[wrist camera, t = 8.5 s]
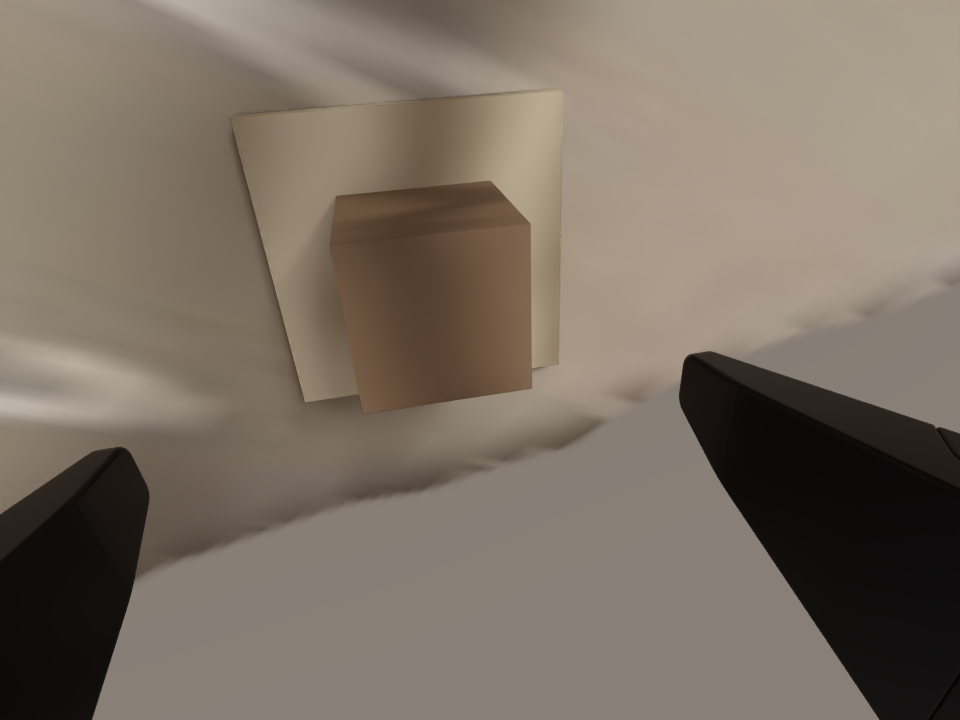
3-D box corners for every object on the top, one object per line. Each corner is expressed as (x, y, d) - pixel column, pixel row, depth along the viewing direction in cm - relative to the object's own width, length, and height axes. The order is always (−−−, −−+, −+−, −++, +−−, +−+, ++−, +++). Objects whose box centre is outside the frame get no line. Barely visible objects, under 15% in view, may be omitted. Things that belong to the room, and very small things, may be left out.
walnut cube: (490, 180, 18) (531, 223, 14) (496, 317, 21) (531, 388, 17) (336, 196, 18) (329, 245, 13) (361, 335, 20) (362, 414, 16)
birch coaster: (555, 88, 18) (563, 90, 17) (552, 354, 23) (558, 364, 22) (235, 114, 17) (229, 117, 16) (306, 391, 22) (305, 402, 21)
